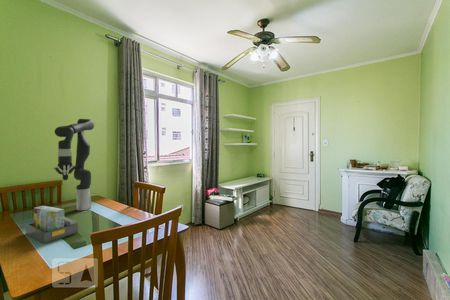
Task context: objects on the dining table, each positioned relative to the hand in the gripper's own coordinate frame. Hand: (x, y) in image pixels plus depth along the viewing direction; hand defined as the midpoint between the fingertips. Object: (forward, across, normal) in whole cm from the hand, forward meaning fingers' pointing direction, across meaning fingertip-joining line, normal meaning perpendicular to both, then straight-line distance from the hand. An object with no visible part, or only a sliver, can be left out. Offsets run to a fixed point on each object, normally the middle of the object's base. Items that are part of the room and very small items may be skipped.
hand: (65, 180), depth 146 cm
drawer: (+29, +14, +16) cm, 36 cm away
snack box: (+28, +16, +16) cm, 36 cm away
